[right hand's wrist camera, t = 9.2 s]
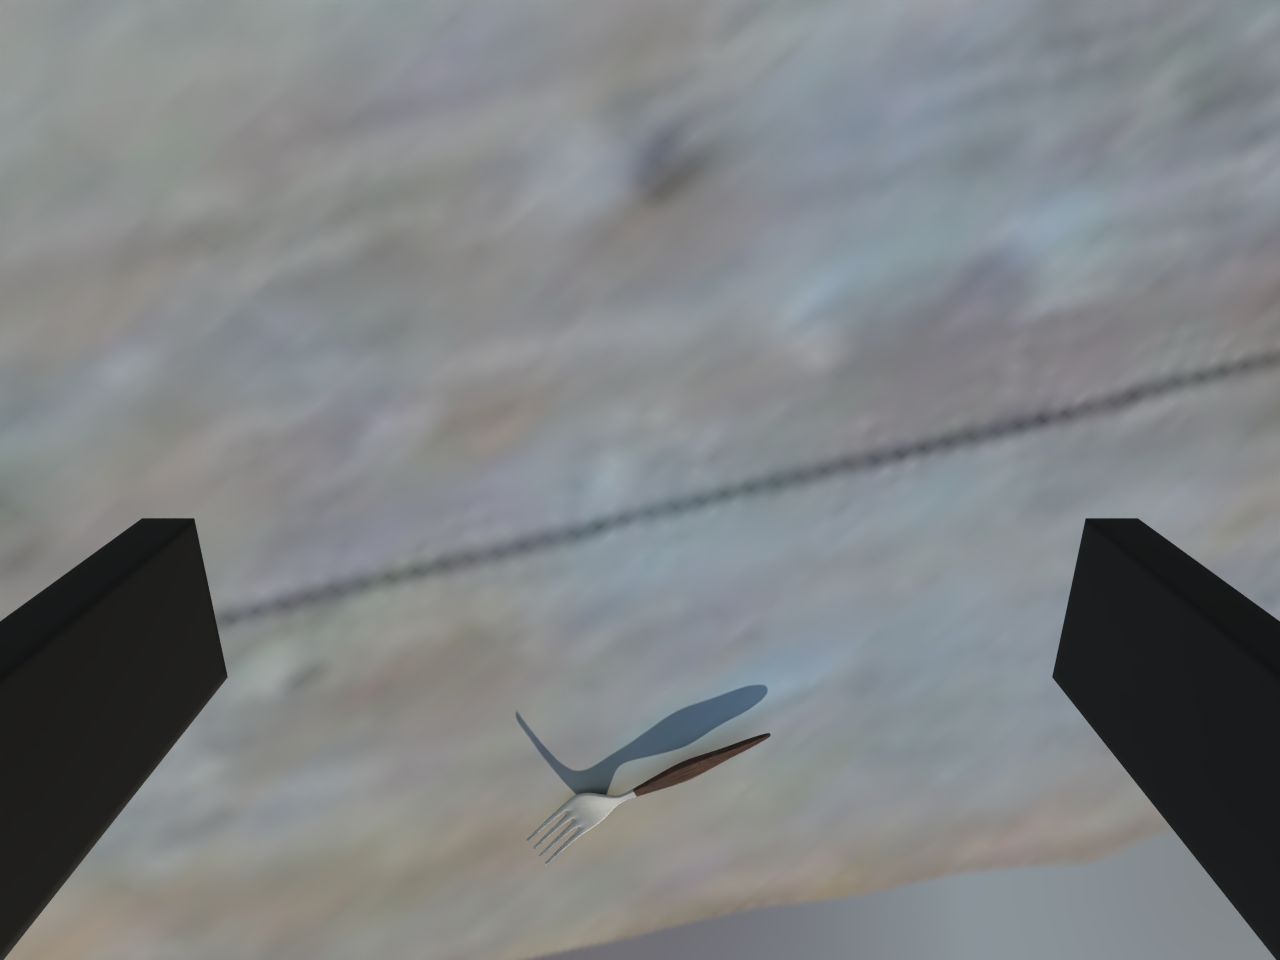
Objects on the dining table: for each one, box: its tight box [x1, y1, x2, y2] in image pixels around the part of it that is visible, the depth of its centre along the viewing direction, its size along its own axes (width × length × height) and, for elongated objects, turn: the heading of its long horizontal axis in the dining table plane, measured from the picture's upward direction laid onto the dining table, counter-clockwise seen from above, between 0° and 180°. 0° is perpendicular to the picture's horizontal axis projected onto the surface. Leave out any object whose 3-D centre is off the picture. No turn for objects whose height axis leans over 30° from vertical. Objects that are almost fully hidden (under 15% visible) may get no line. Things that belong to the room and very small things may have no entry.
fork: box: [527, 733, 771, 865], centre depth 50 cm, size 3×16×2 cm, turn 118°
